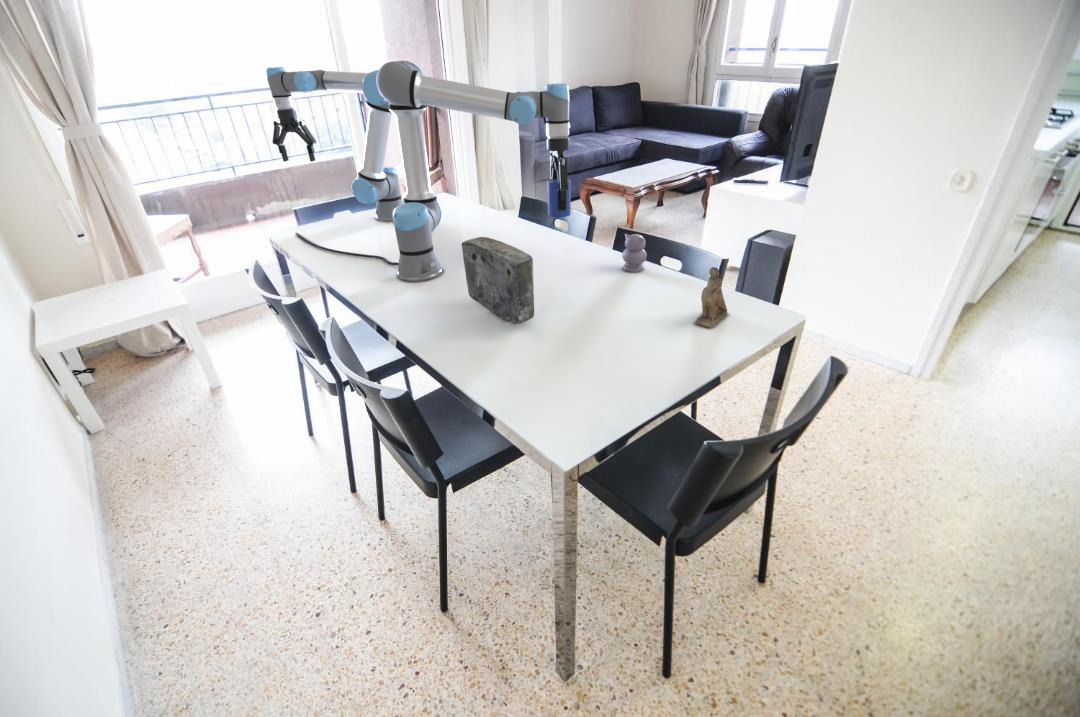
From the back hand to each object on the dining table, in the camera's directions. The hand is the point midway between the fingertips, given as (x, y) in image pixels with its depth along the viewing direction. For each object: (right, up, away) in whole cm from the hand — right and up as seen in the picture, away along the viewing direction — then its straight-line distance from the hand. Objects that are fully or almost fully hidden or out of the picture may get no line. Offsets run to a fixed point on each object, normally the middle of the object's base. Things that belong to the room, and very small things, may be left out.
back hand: (299, 161), depth 224 cm
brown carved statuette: (+157, -78, -84) cm, 194 cm away
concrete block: (+98, -76, -78) cm, 146 cm away
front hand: (+115, -35, -49) cm, 130 cm away
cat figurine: (+141, -58, -51) cm, 161 cm away
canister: (+115, -38, -47) cm, 130 cm away
